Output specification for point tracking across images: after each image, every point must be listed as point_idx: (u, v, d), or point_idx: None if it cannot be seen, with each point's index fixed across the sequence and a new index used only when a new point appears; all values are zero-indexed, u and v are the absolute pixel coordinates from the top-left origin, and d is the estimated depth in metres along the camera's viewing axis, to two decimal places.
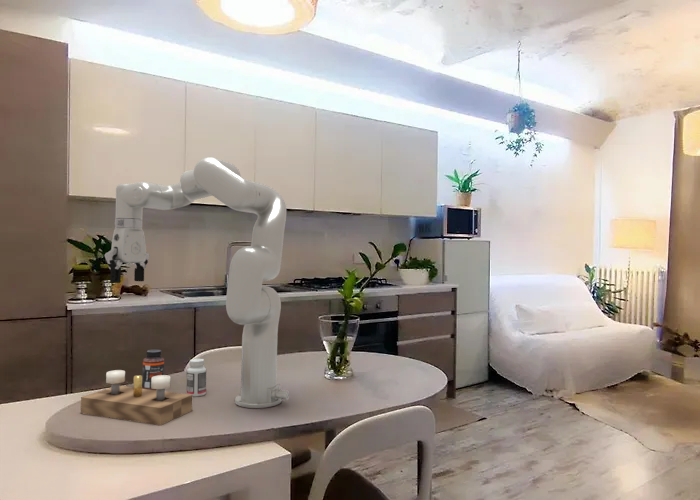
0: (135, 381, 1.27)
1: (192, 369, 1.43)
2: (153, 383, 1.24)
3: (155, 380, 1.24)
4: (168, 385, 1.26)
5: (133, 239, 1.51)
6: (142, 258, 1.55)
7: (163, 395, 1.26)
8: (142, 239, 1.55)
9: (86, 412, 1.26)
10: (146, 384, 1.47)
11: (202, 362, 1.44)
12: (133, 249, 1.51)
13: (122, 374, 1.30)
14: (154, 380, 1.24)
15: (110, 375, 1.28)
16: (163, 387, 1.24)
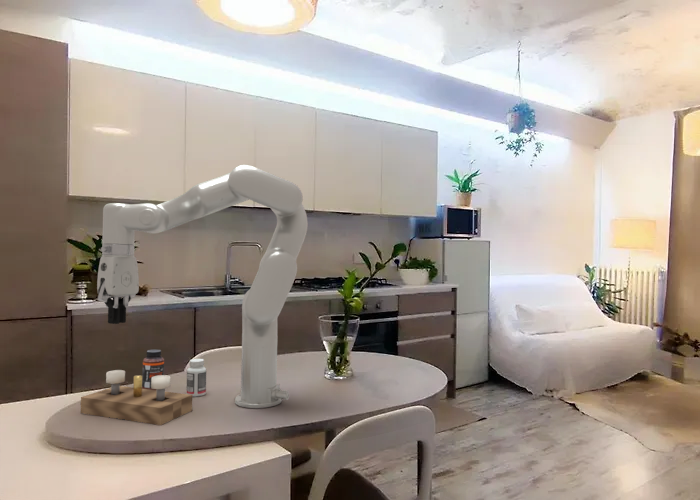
0: (135, 381, 1.27)
1: (192, 369, 1.43)
2: (153, 383, 1.24)
3: (155, 380, 1.24)
4: (168, 385, 1.26)
5: (123, 268, 1.29)
6: (134, 290, 1.33)
7: (163, 395, 1.26)
8: (134, 267, 1.33)
9: (86, 412, 1.26)
10: (146, 384, 1.47)
11: (202, 362, 1.44)
12: (123, 280, 1.29)
13: (122, 374, 1.30)
14: (154, 380, 1.24)
15: (110, 375, 1.28)
16: (163, 387, 1.24)
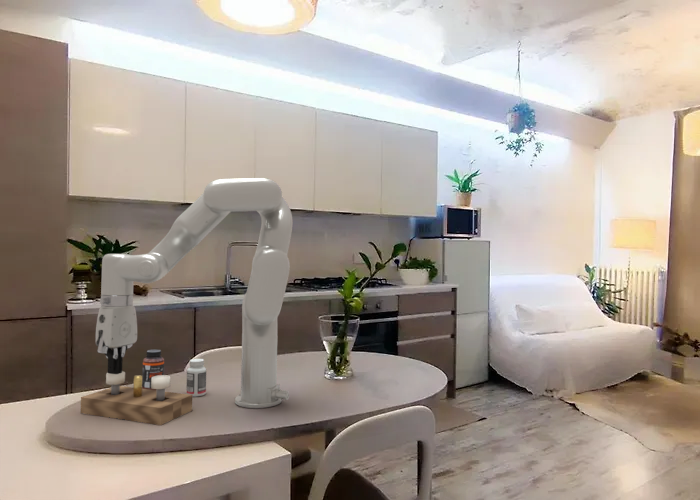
0: (135, 381, 1.27)
1: (192, 369, 1.43)
2: (153, 383, 1.24)
3: (155, 380, 1.24)
4: (168, 385, 1.26)
5: (121, 319, 1.29)
6: (132, 339, 1.32)
7: (163, 395, 1.26)
8: (133, 317, 1.32)
9: (86, 412, 1.26)
10: (146, 384, 1.47)
11: (202, 362, 1.44)
12: (122, 331, 1.29)
13: (122, 375, 1.30)
14: (154, 380, 1.24)
15: (110, 376, 1.28)
16: (163, 387, 1.24)
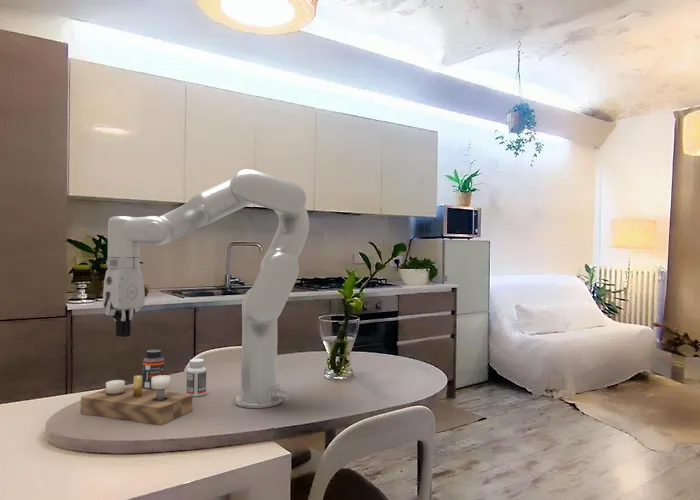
0: (135, 381, 1.27)
1: (192, 369, 1.43)
2: (153, 383, 1.24)
3: (155, 380, 1.24)
4: (168, 385, 1.26)
5: (128, 282, 1.28)
6: (140, 302, 1.32)
7: (163, 395, 1.26)
8: (140, 280, 1.32)
9: (86, 412, 1.26)
10: (146, 384, 1.47)
11: (202, 362, 1.44)
12: (129, 293, 1.28)
13: (122, 384, 1.30)
14: (154, 380, 1.24)
15: (110, 385, 1.28)
16: (163, 387, 1.24)
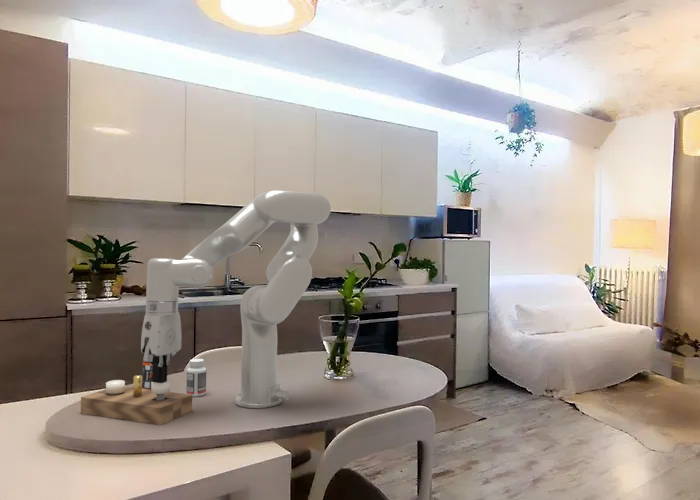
0: (135, 381, 1.27)
1: (192, 369, 1.43)
2: (153, 388, 1.24)
3: (155, 385, 1.24)
4: (168, 390, 1.26)
5: (167, 326, 1.24)
6: (177, 347, 1.28)
7: (163, 400, 1.26)
8: (177, 324, 1.28)
9: (86, 412, 1.26)
10: (146, 384, 1.47)
11: (202, 362, 1.44)
12: (167, 338, 1.24)
13: (122, 384, 1.30)
14: (154, 385, 1.24)
15: (110, 385, 1.28)
16: (163, 392, 1.24)
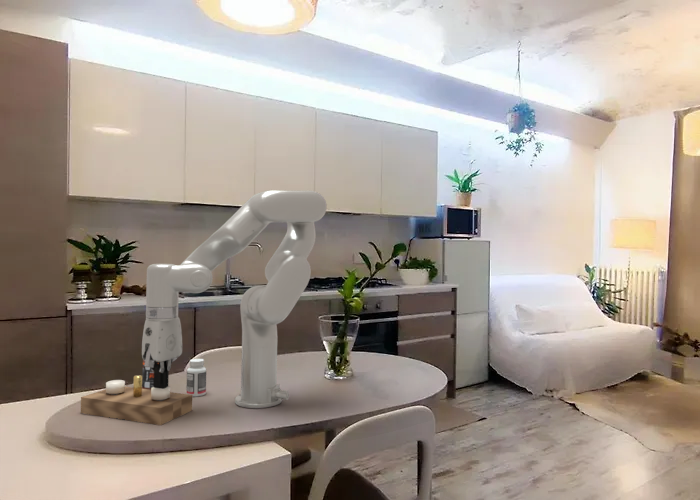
0: (135, 381, 1.27)
1: (192, 369, 1.43)
2: (153, 394, 1.24)
3: (155, 391, 1.24)
4: (168, 395, 1.26)
5: (168, 332, 1.24)
6: (178, 352, 1.28)
7: None
8: (178, 329, 1.28)
9: (86, 412, 1.26)
10: (146, 384, 1.47)
11: (202, 362, 1.44)
12: (168, 344, 1.24)
13: (122, 384, 1.30)
14: (154, 391, 1.24)
15: (110, 385, 1.28)
16: (163, 398, 1.24)
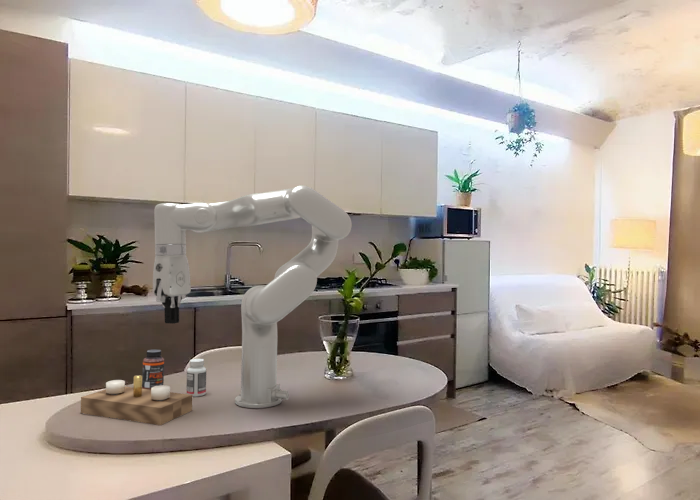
0: (135, 381, 1.27)
1: (192, 369, 1.43)
2: (153, 394, 1.24)
3: (155, 391, 1.24)
4: (168, 395, 1.26)
5: (177, 268, 1.28)
6: (187, 289, 1.32)
7: None
8: (186, 267, 1.32)
9: (86, 412, 1.26)
10: (146, 384, 1.47)
11: (202, 362, 1.44)
12: (178, 280, 1.29)
13: (122, 384, 1.30)
14: (154, 391, 1.24)
15: (110, 385, 1.28)
16: (163, 398, 1.24)
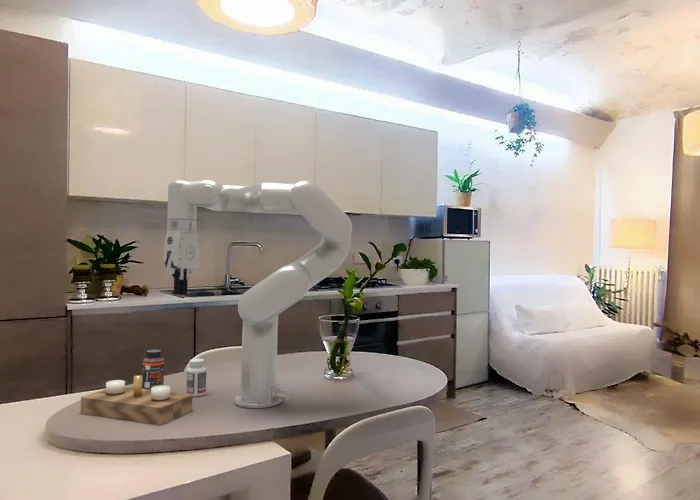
0: (135, 381, 1.27)
1: (192, 369, 1.43)
2: (153, 394, 1.24)
3: (155, 391, 1.24)
4: (168, 395, 1.26)
5: (187, 242, 1.36)
6: (196, 263, 1.40)
7: None
8: (196, 242, 1.40)
9: (86, 412, 1.26)
10: (146, 384, 1.47)
11: (202, 362, 1.44)
12: (187, 253, 1.36)
13: (122, 384, 1.30)
14: (154, 391, 1.24)
15: (110, 385, 1.28)
16: (163, 398, 1.24)
